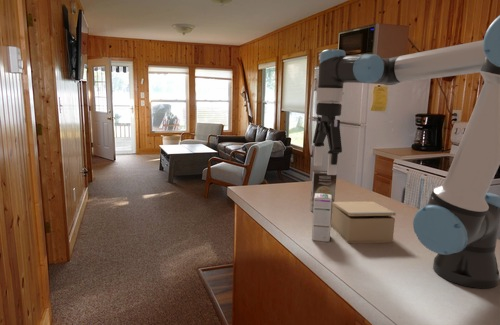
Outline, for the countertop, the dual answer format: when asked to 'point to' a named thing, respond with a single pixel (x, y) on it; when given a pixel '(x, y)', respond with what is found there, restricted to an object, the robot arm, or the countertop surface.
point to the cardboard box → (362, 227)
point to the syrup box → (321, 217)
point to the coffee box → (322, 185)
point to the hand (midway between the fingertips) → (324, 170)
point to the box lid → (363, 209)
